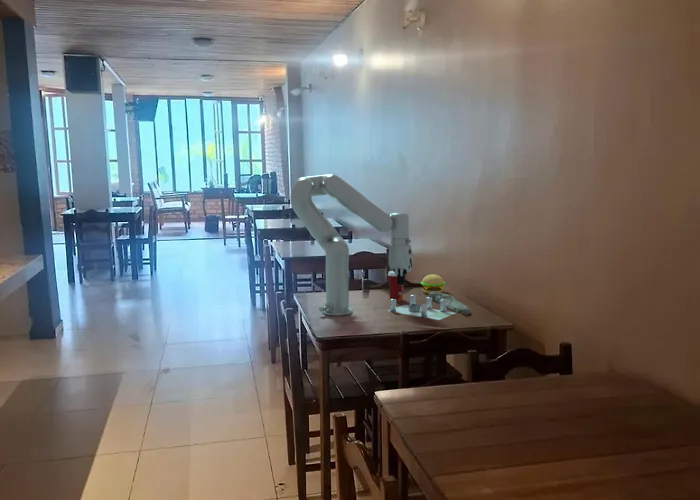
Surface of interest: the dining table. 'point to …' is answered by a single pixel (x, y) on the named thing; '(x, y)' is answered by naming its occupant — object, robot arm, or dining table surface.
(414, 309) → the grey faceted hexagonal block
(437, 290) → the hamburger
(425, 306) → the spacers
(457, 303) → the elongated rock
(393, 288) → the paper cup
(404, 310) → the board
